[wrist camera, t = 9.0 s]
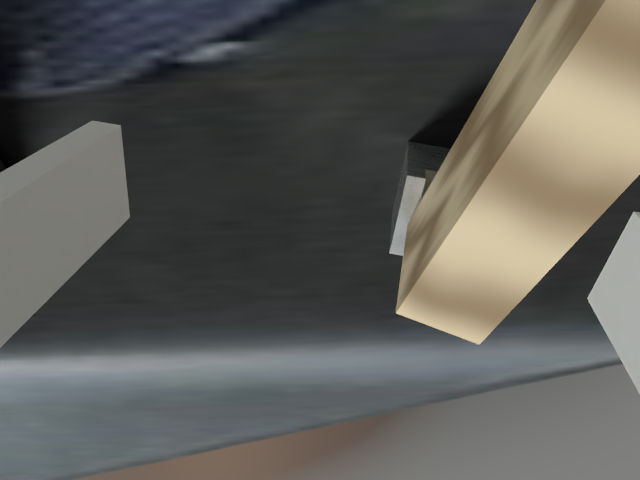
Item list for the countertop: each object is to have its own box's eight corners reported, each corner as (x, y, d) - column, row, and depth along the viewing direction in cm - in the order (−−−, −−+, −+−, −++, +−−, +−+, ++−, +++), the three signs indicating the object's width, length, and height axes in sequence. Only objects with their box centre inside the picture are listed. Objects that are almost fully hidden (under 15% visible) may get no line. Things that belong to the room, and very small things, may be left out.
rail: (475, 250, 33) (479, 344, 27) (407, 224, 32) (395, 313, 27) (726, -85, 19) (846, -45, 13) (612, -132, 19) (681, -114, 13)
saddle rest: (392, 210, 39) (389, 253, 34) (408, 141, 36) (407, 175, 31) (514, 232, 39) (531, 279, 33) (541, 163, 35) (565, 202, 30)
